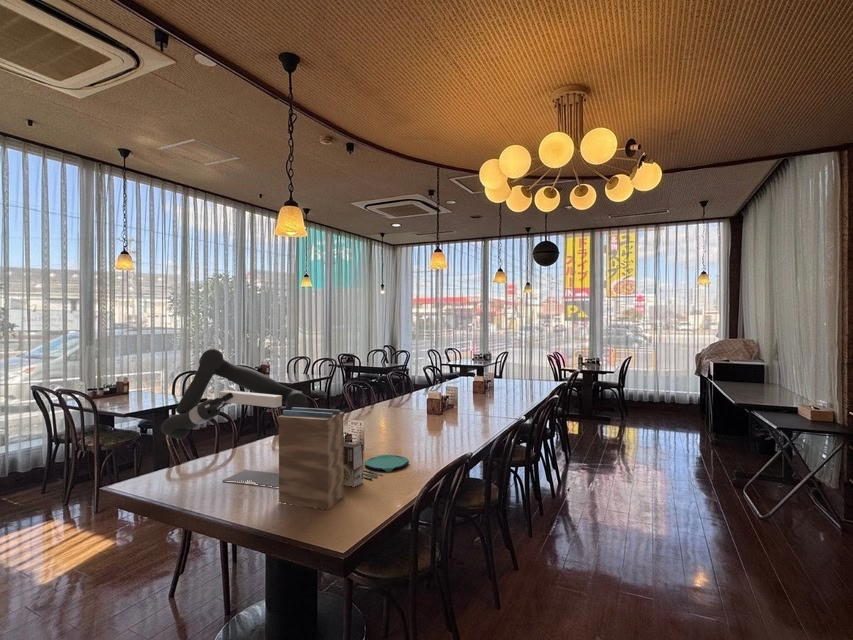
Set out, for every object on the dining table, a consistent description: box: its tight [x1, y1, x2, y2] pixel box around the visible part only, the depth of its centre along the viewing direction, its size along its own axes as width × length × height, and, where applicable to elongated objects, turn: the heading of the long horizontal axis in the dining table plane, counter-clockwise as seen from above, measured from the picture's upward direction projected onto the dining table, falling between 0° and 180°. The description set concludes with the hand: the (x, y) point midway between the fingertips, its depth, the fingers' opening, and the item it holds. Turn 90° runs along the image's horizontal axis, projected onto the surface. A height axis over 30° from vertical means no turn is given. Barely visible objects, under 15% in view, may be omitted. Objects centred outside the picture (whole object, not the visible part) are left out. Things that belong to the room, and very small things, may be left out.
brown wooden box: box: [276, 407, 346, 510], centre depth 166 cm, size 14×20×34 cm
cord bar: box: [218, 389, 283, 409], centre depth 174 cm, size 4×26×4 cm, turn 73°
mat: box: [222, 469, 279, 487], centre depth 188 cm, size 14×30×1 cm, turn 74°
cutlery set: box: [363, 454, 410, 481], centre depth 203 cm, size 20×30×2 cm, turn 145°
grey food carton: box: [343, 441, 364, 488], centre depth 184 cm, size 9×6×16 cm
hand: (235, 393), depth 176 cm, fingers closed on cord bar, 4 cm apart
